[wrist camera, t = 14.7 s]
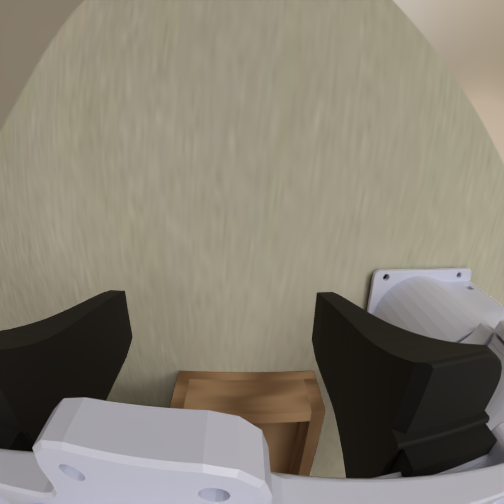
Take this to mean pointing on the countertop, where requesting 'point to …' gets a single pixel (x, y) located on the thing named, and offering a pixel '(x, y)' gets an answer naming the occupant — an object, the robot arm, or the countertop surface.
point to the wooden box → (263, 409)
